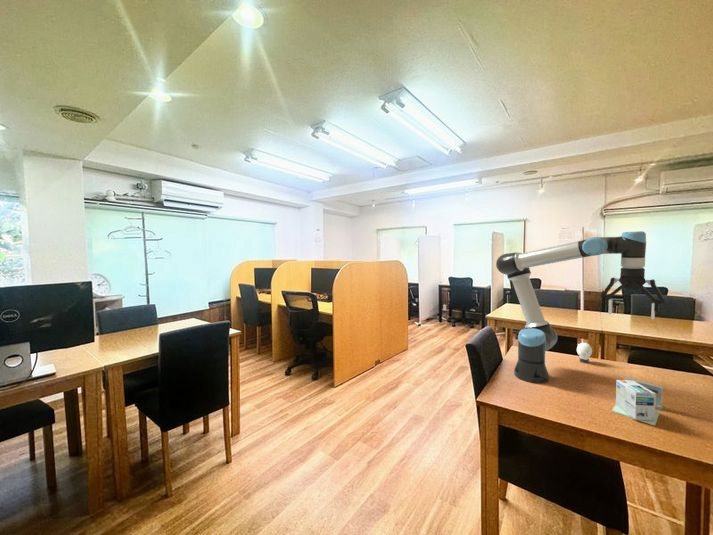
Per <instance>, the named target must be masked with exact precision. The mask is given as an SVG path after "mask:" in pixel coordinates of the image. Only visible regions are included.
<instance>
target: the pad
mask: <svg viewBox="0 0 713 535" xmlns="http://www.w3.org/2000/svg"><path fill="white" fill-rule="evenodd" d="M611 412H612V413H615V414H618V415H621V416H623V417H626V418H627V417H628V418H630V419H632V420H635V419H634V418H633V417H631V416H630V415H629V414H627V413H626V412H625V411H623V410H622V409H621V408H620V407H618V406H617V405H616V404H614V406H613V407H612V409H611ZM659 417H660V412H658V411H655V421H651V420H638V421H639V422H642V423H645V424H648V425H651V426H656V424H657V421H658V419H659Z"/></svg>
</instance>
